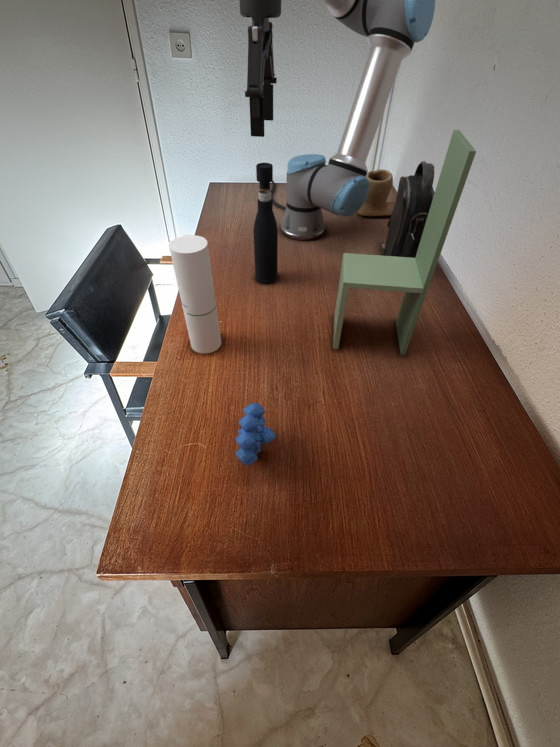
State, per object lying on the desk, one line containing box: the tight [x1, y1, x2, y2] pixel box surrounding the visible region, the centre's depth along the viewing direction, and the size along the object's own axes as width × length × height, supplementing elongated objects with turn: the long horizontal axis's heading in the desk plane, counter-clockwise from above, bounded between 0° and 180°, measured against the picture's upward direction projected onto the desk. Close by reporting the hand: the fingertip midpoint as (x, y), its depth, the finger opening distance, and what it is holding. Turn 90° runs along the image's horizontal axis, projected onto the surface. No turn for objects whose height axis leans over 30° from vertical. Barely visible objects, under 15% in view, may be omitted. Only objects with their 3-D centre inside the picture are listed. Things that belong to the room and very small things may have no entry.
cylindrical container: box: [168, 234, 222, 355], centre depth 79 cm, size 7×7×25 cm
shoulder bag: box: [381, 160, 435, 258], centre depth 104 cm, size 23×9×28 cm, turn 172°
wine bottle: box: [252, 162, 279, 285], centre depth 97 cm, size 6×6×30 cm
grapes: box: [234, 402, 277, 466], centre depth 63 cm, size 12×7×12 cm, turn 171°
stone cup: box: [355, 168, 395, 217], centre depth 133 cm, size 15×12×15 cm
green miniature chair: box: [332, 129, 477, 356], centre depth 75 cm, size 12×17×42 cm
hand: (262, 127), depth 80 cm, fingers open, 13 cm apart
